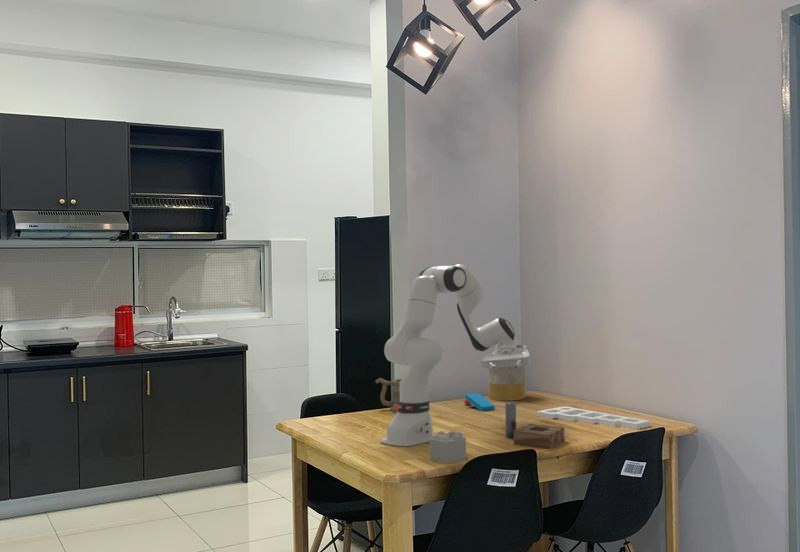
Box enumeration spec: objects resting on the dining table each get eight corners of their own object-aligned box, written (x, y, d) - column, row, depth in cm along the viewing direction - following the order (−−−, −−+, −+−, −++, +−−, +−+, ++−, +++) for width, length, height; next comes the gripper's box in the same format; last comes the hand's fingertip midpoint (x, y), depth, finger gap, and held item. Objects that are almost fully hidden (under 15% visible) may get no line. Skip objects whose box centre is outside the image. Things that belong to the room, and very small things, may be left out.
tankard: (420, 408, 353) (420, 376, 353) (414, 413, 341) (413, 380, 341) (380, 406, 359) (379, 375, 359) (372, 411, 347) (371, 379, 347)
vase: (505, 393, 390) (504, 335, 390) (532, 397, 376) (531, 336, 376) (481, 397, 378) (479, 337, 378) (508, 402, 364) (507, 339, 364)
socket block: (549, 448, 268) (549, 434, 268) (513, 444, 276) (513, 430, 276) (564, 440, 279) (564, 427, 279) (530, 436, 287) (529, 423, 287)
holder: (650, 427, 302) (650, 420, 302) (622, 434, 291) (622, 427, 291) (564, 412, 338) (564, 406, 338) (536, 417, 328) (536, 411, 328)
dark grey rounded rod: (513, 438, 285) (513, 404, 285) (504, 437, 287) (503, 403, 287) (518, 436, 288) (517, 403, 288) (508, 435, 290) (508, 402, 290)
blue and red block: (492, 419, 347) (471, 403, 362) (494, 405, 345) (473, 389, 360) (480, 421, 343) (459, 404, 359) (482, 407, 342) (461, 391, 357)
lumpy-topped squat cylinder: (425, 458, 257) (425, 433, 257) (452, 452, 266) (451, 427, 266) (447, 464, 250) (446, 438, 250) (473, 457, 258) (473, 432, 258)
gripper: (481, 349, 318) (478, 362, 305) (529, 345, 313) (529, 358, 300) (483, 363, 319) (480, 376, 306) (531, 359, 315) (530, 372, 302)
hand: (505, 367), depth 303 cm, fingers open, 8 cm apart
